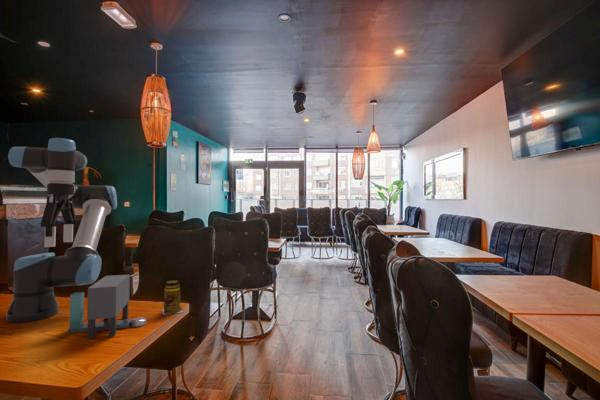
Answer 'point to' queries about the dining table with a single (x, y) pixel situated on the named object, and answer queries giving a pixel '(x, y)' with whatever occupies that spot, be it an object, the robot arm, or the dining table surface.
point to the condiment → (172, 298)
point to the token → (138, 322)
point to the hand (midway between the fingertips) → (59, 244)
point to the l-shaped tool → (78, 317)
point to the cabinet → (108, 301)
